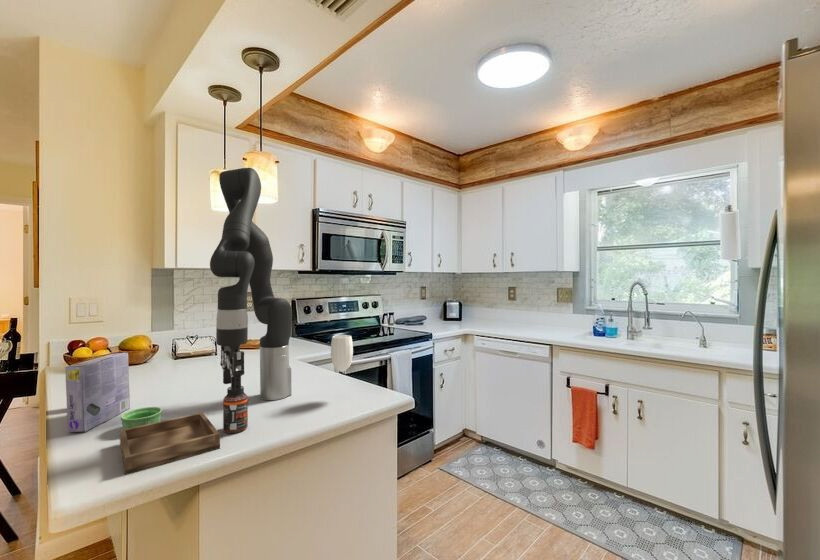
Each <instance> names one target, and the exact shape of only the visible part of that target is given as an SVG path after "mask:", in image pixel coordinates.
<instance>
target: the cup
mask: <svg viewBox="0 0 820 560" xmlns="http://www.w3.org/2000/svg"><path fill="white" fill-rule="evenodd" d="M330 342H331V344H330V357H331V363H332V365H333V367H334V369H336V370H337V371H338V372H341V373H343V372H346V371H347V370H348V368H350V367H351V364H352V361H353V355H354V346H353V345H354V343H353V338H352V335H349V334H336V335H333V336H332V337H331V341H330Z"/></svg>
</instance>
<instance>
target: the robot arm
mask: <svg viewBox="0 0 820 560" xmlns="http://www.w3.org/2000/svg"><path fill="white" fill-rule="evenodd" d="M218 177H219V178H218V180H219V186H220V189H221V192H222V195H223V196H222V197H223V199H224V202H225V204H226V207H227V210H228V215H227V216H226V218H225V220H224V222H223V228H222V235H221V238H220V241H219V242H218V245H217V246H216V248H215V250H214V251H213V253H212V254H211V258H210V260H209V268H210V271H211V273H212V274H213V275H214V276H216V277H217V278H239V279H238V281H237V283H235V284H233V285H228V286H223V287H220V288H219V289H218V291H217V312H216V313H217V314H216V320H215V322H216V329H215V330H216V331H215V332H216V335H215V337H216V338H215V341H216V342H215V343H216V345H217V346H220V366H221V369H222V374H223V375H222V384H224V385H228V384H230V387H231V391H232V392H235V391H240V390H241V386H242V376H244V375H245V351H243V350H241V348H240V346H243V345H245V344H247V343H248V341H249V340H248V336H249V335H248V331H249V330H248V327H249V323H248V321H249V316H248V310H247V309H248V289H249V287H250V292H251V298H252V306H253V310H254V314H255V317H256V319H257V320H258V322H260V324H264V325H267V326H266V327H267V328H266V333H265V334H264V335H263V336H261V337H260V338H259V386H260V387H259V393H260V399H261V400H265V401H276V400H282V399H284V398H285V399H286V398H287V397H289V396H292V395H293V394H292V389H293V388H292V367H291V366H290V352H289V351H290V338H291V336H292V327H293V326H292V324H293V322H292V321H293V309H292V305H291V304H290V302H289V301H288V300H287V299H285V298H282V297H275V295H274V291H273V287H272V284H271V276H272V275H271V273H272V270H273V263H274V258H273V257H274V256H273V252H272V247H271V243H270V240H269V237H268V236H267V235H266V233H265V232H264V231H263V230H262V229H261V228H260V227H259V226H258V225H257V224H255V222H254V221H253V218H254V215H255V212H256V209H257V206H258V203H259V200H260V197H261V192H262V183H261V179H260V176H259V174H258V172H257V171H256V170H255V169H254V168H252V167H242V168H237V169H229V170H224V171H221V172H220V173H219V176H218Z"/></svg>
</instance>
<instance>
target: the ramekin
mask: <svg viewBox="0 0 820 560" xmlns="http://www.w3.org/2000/svg"><path fill="white" fill-rule="evenodd" d="M162 412H163V408H161V407H157V406H148V407H141V408H135V409H132V410H129V411H127V412H126V411H125V412H123V414H121V416H120V420H121V423H122V430H123V429H128V428H132V427H137V426H142V425H146V424H151V423H156V422H160V421H161V416H162Z"/></svg>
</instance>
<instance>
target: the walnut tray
mask: <svg viewBox="0 0 820 560" xmlns="http://www.w3.org/2000/svg"><path fill="white" fill-rule="evenodd" d="M119 443H120V444H119V446H120V450H121V456H122V457H121V458H122V464H123V468H124V469H123V470H124V474H125V476H126V475H129V474H133V473H137V472H140V471H143V470H144V471H145V470H147V469H151V468H152V469H153V468H154V467H159V466H161V465H166V464H170V463H173V462H176V461H180V460H183V459H188V458H191V457H194V456H198V455H201V454H204V453H208V452H213V451H216V450H220V449H221V433H220V432H219V431H218V430H217V428H216V427H215V425H213V423H212V422H211V421H210V419H209V418H208V416H206V415H205V414H204V412H198V413H194V414H189V415H184V416H180V417H179V416H178V417H174V418H170V419H165V420H162V421H161V420H160V422H156V423H151V424H146V425H142V426H137V427H132V428H128V429H123V428H122V429H120V430H119Z"/></svg>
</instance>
